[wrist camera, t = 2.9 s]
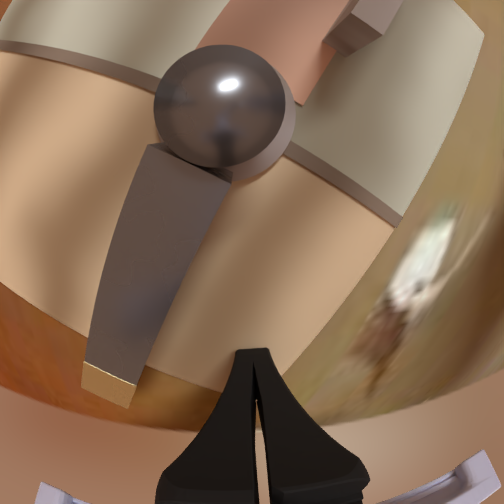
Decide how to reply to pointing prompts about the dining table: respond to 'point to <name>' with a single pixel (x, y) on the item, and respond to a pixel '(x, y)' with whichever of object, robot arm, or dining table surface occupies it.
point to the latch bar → (176, 202)
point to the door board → (244, 174)
